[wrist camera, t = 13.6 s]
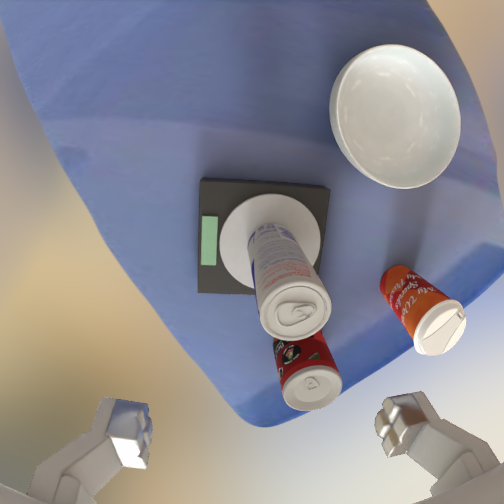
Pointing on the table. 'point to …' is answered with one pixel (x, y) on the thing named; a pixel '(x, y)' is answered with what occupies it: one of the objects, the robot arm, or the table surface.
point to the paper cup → (423, 310)
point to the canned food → (307, 372)
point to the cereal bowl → (395, 116)
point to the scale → (253, 227)
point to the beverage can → (286, 285)
